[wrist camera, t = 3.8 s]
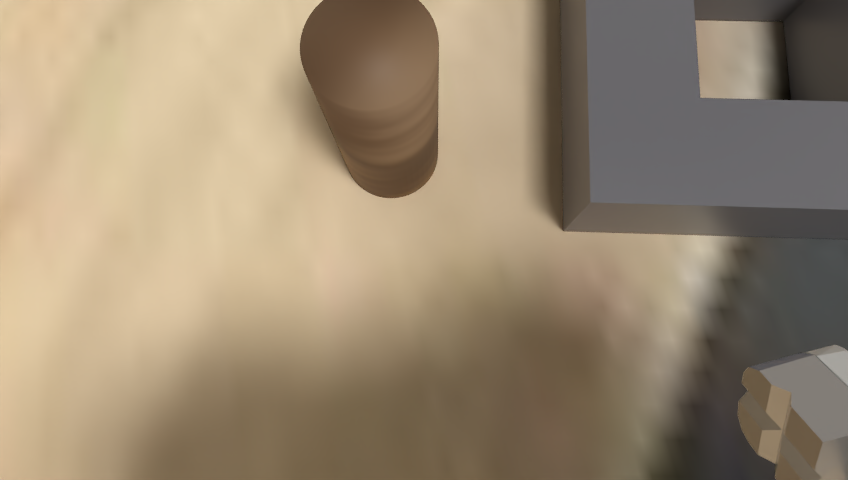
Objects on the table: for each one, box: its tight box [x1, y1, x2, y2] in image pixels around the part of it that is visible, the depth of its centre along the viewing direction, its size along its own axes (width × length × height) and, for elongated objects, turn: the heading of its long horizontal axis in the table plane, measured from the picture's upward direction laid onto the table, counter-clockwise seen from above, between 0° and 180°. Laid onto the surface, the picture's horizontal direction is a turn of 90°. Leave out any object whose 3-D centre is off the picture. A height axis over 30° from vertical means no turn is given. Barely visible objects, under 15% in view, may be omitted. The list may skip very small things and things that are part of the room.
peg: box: [300, 0, 439, 198], centre depth 22 cm, size 4×4×9 cm
